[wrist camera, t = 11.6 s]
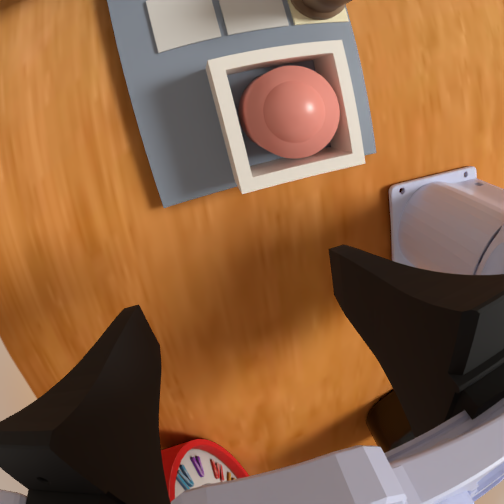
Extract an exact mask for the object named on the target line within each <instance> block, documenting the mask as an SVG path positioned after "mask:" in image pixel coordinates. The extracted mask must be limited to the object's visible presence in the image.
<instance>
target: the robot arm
mask: <svg viewBox="0 0 504 504" xmlns="http://www.w3.org/2000/svg"><path fill="white" fill-rule="evenodd" d="M464 173H465V175H464ZM400 188H402V191H401V192H399V190H400ZM389 204H390V219H391V241H392V261H391V260H388V259H385V258H382V257H379V256H376V255H373V254H371V253H368V252H365V251H362V250H359V249H357V248H354V247H351V246H347V245H341V246H338V247H334V248H331V249H329V256H330V263H331V271H332V279H333V288H334V295H335V297H336V299H337V301H338V303H339V305H340V307H341V308H342V310H343V312H344V314H345V315H346V317H347V318H348V319H349V321H350V322H351V324H352V325H353V326H354V328H355V329H356V330H357V332H358V333H359V334H360V336H361V337H362V339H363V340H364V341H365V343H366V344H367V345H368V347H369V348H370V349H371V351H372V352H373V354H374V355H375V357H376V358H377V360H378V361H379V363H380V365H381V366H382V368H383V370H384V372H385V374H386V376H387V377H388V379H389V381H390V383H391V385H392V387H393V389H394V391H395V393H396V395H397V397H398V399H399V401H400V403H401V406H402V408H403V410H404V412H405V415H406V417H407V419H408V421H409V424H410V426H411V429H412V431H413V434H414V436H415V439H413V440H411V441H409V442H407V443H405V444H403V445H401V446H398V447H396V448H394V449H392V450H390V451H388V452H386V453H384V452H383V450H382V449H381V447H378V446H363V445H357V446H353V447H350V448H346V449H342V450H338V451H334V452H331V453H328V454H325V455H322V456H319V457H316V458H313V459H310V460H307V461H304V462H301V463H298V464H294V465H291V466H287V467H284V468H280V469H276V470H273V471H269V472H265V473H261V474H257V475H252V476H248V477H244V478H239V479H234V480H229V481H224V482H218V483H213V484H207V485H203V486H200V487H196V488H192V489H188V490H185V491H184V492H182V493H181V494H180V495H179V496H178V497H176V498H175V499H174V500H173V501H171V502H170V498H169V494H168V490H167V485H166V480H165V474H164V469H163V462H162V455H161V447H160V437H159V399H160V384H161V354H160V345H159V343H158V341H157V339H156V337H155V335H154V333H153V332H152V330H151V328H150V326H149V324H148V322H147V320H146V318H145V316H144V314H143V312H142V310H141V308H140V306H139V305H135V306H132V307H128V308H125V309H124V310H122V311H121V313H120V314H119V315H118V316H117V317H116V318H115V320H114V321H113V322H112V323H111V325H110V326H109V327H108V328H107V330H106V331H105V332H104V333H103V335H102V336H101V337H100V338H99V340H98V341H97V342H96V343H95V344H94V346H93V347H92V348H91V349H90V350H89V352H88V353H87V354H86V355H85V356H84V357H83V359H82V360H81V361H80V362H79V363H78V364H77V365H76V366H75V367H74V368H73V369H72V370H71V371H70V372H69V373H68V374H67V375H66V376H65V377H64V378H63V379H62V380H61V381H59V382H58V383H57V384H56V385H55V386H54V387H52V388H51V389H50V390H49V391H48V392H46V393H45V394H44V395H43V396H41V397H40V398H38V399H37V400H36V401H34V402H33V403H32V404H30V405H28V406H27V407H25V408H24V409H22V410H21V411H19V412H17V413H15V414H14V415H12V416H10V417H9V418H6V419H5V420H3V421H1V422H0V467H1V468H2V469H3V470H4V471H5V472H7V473H8V474H9V475H11V476H12V477H13V478H14V479H15V480H17V481H19V483H21V484H22V485H24V486H25V487H26V488H28V489H29V491H28V495H27V496H25V495H23V494H20V493H17V492H11V491H6V490H0V504H475V503H474V501H476V500H477V499H479V498H480V497H481V496H483V495H484V494H485V493H487V492H488V491H489V490H491V489H492V488H493V487H495V486H496V485H497V484H498V483H499V482H501V481H502V480H503V479H504V189H502V188H500V187H497V186H495V185H492V184H490V183H487V182H485V181H482V180H479V179H477V178H476V168H475V167H473V166H468V167H464V168H460V169H456V170H451V171H447V172H443V173H439V174H435V175H431V176H426V177H422V178H418V179H414V180H410V181H406V182H402V183H398V184H394V185H392V186H391V187H390V188H389Z"/></svg>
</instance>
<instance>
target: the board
mask: <svg viewBox="0 0 504 504" xmlns="http://www.w3.org/2000/svg"><path fill="white" fill-rule="evenodd" d="M107 2H108V7H109V12H110V17H111V21H112V26H113V30H114V35H115V39H116V43H117V48H118V52H119V56H120V60H121V64H122V68H123V72H124V76H125V80H126V84H127V87H128V91H129V95H130V99H131V102H132V106H133V110H134V113H135V117H136V120H137V124H138V127H139V131H140V134H141V137H142V141H143V144H144V147H145V151H146V154H147V157H148V160H149V164H150V167H151V170H152V173H153V176H154V179H155V183H156V186H157V189H158V192H159V195H160V198H161V201H162V204H163V207H164V208H166V207H169V206H172V205H175V204H179V203H182V202H185V201H188V200H192V199H195V198H198V197H202V196H205V195H209V194H212V193H216V192H219V191H223V190H226V189H230V188H233V187H237V186H238V188H239V189H240V191H241V193H242V194H245V193H249V192H252V191H256V190H260V189H263V188H267V187H271V186H275V185H278V184H282V183H286V182H290V181H294V180H298V179H302V178H306V177H310V176H314V175H318V174H322V173H326V172H331V171H335V170H339V169H343V168H348V167H352V166H356V165H361V164H365V157H364V155H368V154H373V153H376V147H375V140H374V133H373V127H372V120H371V114H370V108H369V103H368V97H367V92H366V87H365V82H364V77H363V72H362V68H361V63H360V59H359V54H358V50H357V46H356V42H355V38H354V34H353V30H352V26H351V22H350V19H349V15H348V12H347V8H346V6H345V8H344V9H343V10H342V12H340V13H339V14H337V15H336V16H334V17H332V18H330V19H327V20H315V19H311V18H308V17H306V16H304V15H302V14H301V13H300V12H298V11H297V10H296V9H295V7H294V6H293V5H292V3H291V1H290V0H107ZM290 65H292V66H302V67H305V68H309V69H311V70H313V71H315V72H317V73H318V74H320V75H321V76H322V77H323V78H325V79H326V81H327V82H328V83H329V84H330V85H331V87H332V88H333V90H334V92H335V94H336V96H337V99H338V103H339V109H340V117H339V123H338V127H337V130H336V132H335V134H334V136H333V138H332V139H331V141H330V142H329V143H328V144H327V145H326V146H325V147H324V148H323V149H322V150H320V151H319V152H317V153H315V154H313V155H311V156H308V157H305V158H297V159H291V158H284V157H280V156H278V155H275V154H273V153H271V152H269V151H267V150H266V149H264V148H262V147H260V146H258V145H257V144H255V143H254V142H253V141H251V140H250V139H249V137H248V136H247V135H246V134H245V132H244V131H243V129H242V126H241V124H240V121H239V115H238V108H239V102H240V98H241V96H242V94H243V92H244V90H245V89H246V87H247V86H248V85H249V84H250V83H251V82H252V81H253V80H255V79H256V78H258V77H259V76H261V75H263V74H265V73H267V72H269V71H271V70H273V69H276V68H278V67H282V66H290Z"/></svg>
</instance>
